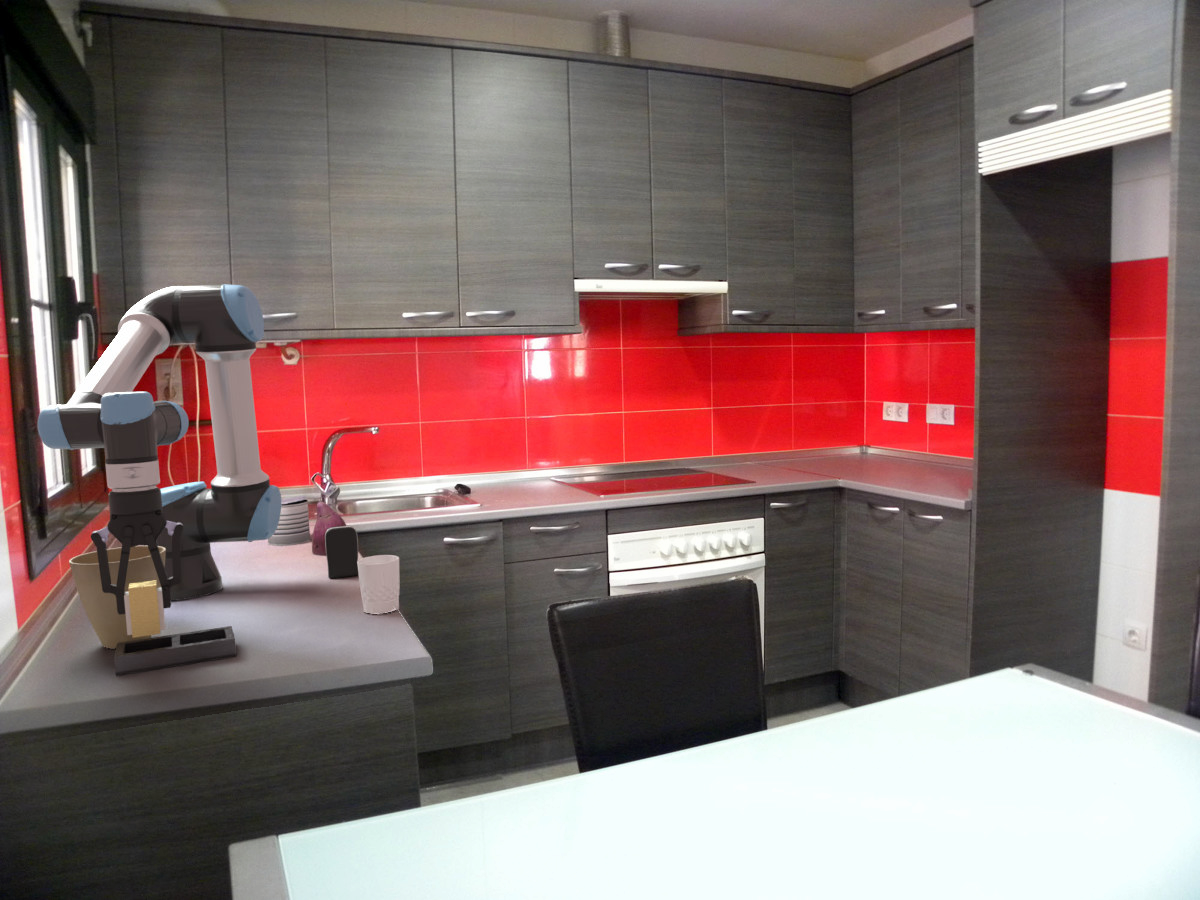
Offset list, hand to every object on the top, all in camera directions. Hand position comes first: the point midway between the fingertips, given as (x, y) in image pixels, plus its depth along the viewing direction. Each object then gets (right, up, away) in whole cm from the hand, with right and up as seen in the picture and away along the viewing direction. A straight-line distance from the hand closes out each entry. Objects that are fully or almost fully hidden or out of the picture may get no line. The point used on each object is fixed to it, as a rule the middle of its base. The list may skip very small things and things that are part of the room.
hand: (146, 630), depth 146 cm
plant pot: (-10, -5, +12) cm, 16 cm away
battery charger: (+16, +1, +57) cm, 59 cm away
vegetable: (+5, +3, +84) cm, 85 cm away
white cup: (+32, -2, +28) cm, 42 cm away
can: (-11, +4, +99) cm, 100 cm away
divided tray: (+4, -5, +2) cm, 7 cm away
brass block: (0, 0, 0) cm, 0 cm away
